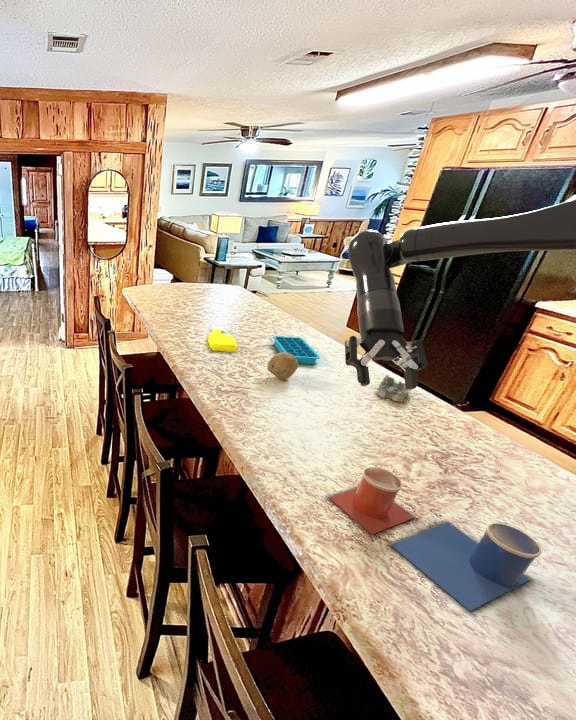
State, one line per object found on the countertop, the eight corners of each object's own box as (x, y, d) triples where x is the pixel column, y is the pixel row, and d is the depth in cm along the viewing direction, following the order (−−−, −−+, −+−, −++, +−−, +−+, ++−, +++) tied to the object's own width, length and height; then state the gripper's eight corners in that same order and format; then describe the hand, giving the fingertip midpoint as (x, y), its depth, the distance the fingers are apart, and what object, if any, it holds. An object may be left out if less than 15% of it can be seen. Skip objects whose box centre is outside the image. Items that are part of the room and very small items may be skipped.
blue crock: (482, 549, 72) (501, 518, 69) (527, 580, 67) (551, 548, 63) (459, 559, 70) (478, 528, 67) (503, 593, 65) (527, 560, 61)
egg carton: (382, 384, 130) (386, 373, 128) (410, 392, 125) (414, 381, 123) (373, 395, 123) (377, 383, 122) (401, 404, 118) (406, 392, 117)
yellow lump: (209, 350, 154) (205, 329, 176) (237, 352, 152) (230, 331, 174) (210, 343, 153) (205, 323, 175) (239, 345, 151) (230, 325, 173)
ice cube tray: (299, 344, 160) (301, 337, 159) (319, 365, 142) (321, 358, 141) (270, 342, 162) (272, 336, 160) (286, 363, 144) (288, 356, 142)
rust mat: (368, 484, 88) (368, 484, 88) (414, 518, 79) (414, 517, 79) (328, 498, 84) (328, 497, 84) (371, 534, 75) (372, 533, 75)
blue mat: (446, 522, 78) (446, 522, 78) (529, 580, 67) (529, 579, 67) (390, 545, 73) (390, 544, 73) (469, 611, 62) (470, 610, 62)
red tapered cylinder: (366, 492, 85) (378, 463, 82) (396, 514, 80) (410, 485, 76) (344, 499, 83) (355, 470, 80) (373, 522, 78) (386, 493, 74)
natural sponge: (264, 382, 131) (270, 355, 126) (264, 371, 138) (270, 345, 134) (294, 387, 128) (301, 360, 123) (292, 375, 135) (299, 349, 131)
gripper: (352, 305, 81) (360, 378, 76) (427, 309, 79) (440, 384, 74) (335, 320, 88) (341, 388, 83) (404, 324, 86) (414, 394, 81)
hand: (388, 387), depth 78 cm, fingers open, 8 cm apart
